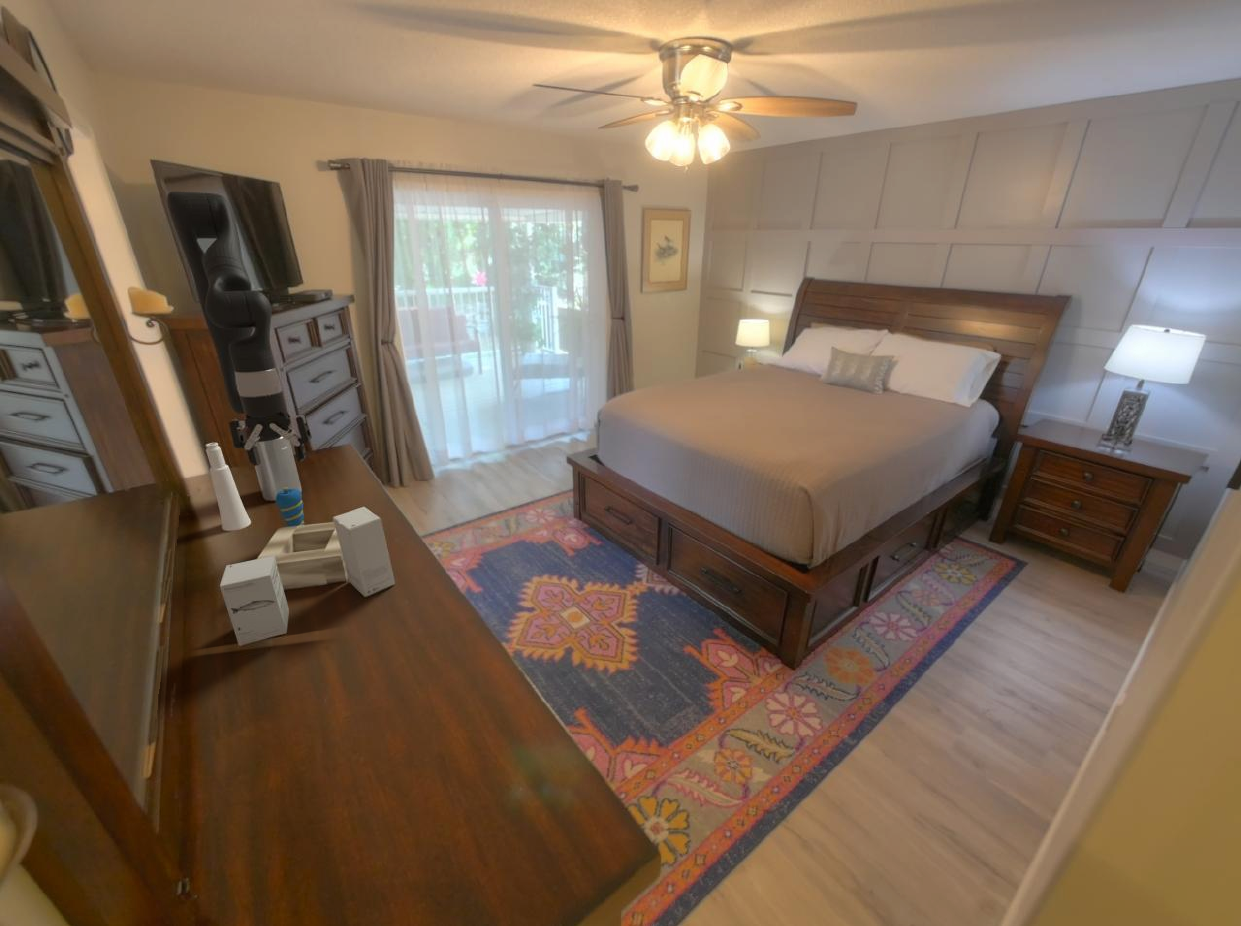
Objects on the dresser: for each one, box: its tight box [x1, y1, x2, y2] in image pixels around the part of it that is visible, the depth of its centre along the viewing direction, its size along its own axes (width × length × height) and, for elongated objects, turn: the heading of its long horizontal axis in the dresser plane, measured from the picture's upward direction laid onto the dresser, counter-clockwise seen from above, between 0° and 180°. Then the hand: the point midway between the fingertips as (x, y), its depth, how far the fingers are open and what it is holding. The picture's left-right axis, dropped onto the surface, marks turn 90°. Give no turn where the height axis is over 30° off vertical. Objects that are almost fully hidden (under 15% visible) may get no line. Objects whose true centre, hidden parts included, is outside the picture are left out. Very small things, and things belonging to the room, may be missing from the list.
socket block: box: [256, 521, 349, 591], centre depth 110 cm, size 16×16×6 cm
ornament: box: [275, 487, 306, 527], centre depth 118 cm, size 5×5×15 cm
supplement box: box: [219, 556, 290, 647], centre depth 90 cm, size 7×7×13 cm
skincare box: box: [332, 506, 396, 598], centre depth 102 cm, size 8×7×16 cm
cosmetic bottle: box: [205, 442, 252, 532], centre depth 123 cm, size 6×6×22 cm
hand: (279, 462), depth 113 cm, fingers open, 8 cm apart
